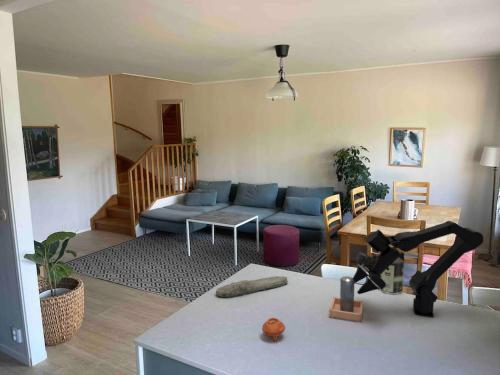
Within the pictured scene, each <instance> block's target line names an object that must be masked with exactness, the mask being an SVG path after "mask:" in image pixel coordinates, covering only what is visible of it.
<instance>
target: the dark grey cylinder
mask: <svg viewBox="0 0 500 375" xmlns="http://www.w3.org/2000/svg"><path fill="white" fill-rule="evenodd" d="M354 281H355V280H354V279H353V277H351V276H347V275H346V276H342V277H340V282H339V283H340V285H339V286H340V287H339V290H340V291H339V292H340V293H339V294H340V295H339V298H340V311H345V312H352V313H354V300H355V283H354Z"/></svg>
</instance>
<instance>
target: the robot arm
mask: <svg viewBox="0 0 500 375" xmlns="http://www.w3.org/2000/svg"><path fill="white" fill-rule="evenodd" d="M452 234H454V235H456V236H455V238H454V241H453V244H452V245H450V247H449V248H448V249H447V250H446V251H445V252H444V253H443V254H442V255H441V256H439V257H438V259H436V260H435V261H434V262H433V263H432V265H430V266H429V267H428V269H426V270H424V271H421V270H419V269H418V270H416V272H415V273H414V274H413V275H411V276H410V280H409V281H408V284H409V287H410V289H411V290H412V291H413V293H414V294H415V295H414V296H415V297H414V298H413V300H412V302H413V303H412V310H413V311H414V315H417V316H423V317H431V318H434V316H435V314H434V306H435V304H434V303H436V302H437V300H438V298H439V297H438V296H437V295H436V294H435V293H434V289H436V288H435V287H436V284H437V281H438V280H439V278H441V276H442V275H444V274H445V273H446V272H447V271H448V270H450V268H451V267H452V266H453V265H454V264H455V263H456V262H457V261H458V260H459V259H460V258H461V257H462V256H463V255H464V254H467V253H468V252H472V251H475V250H476V249H477V248H479V247H481V246H482V244H483V243H484V235H483V234H482V232H480V231H478V230H475V229H472V228H470V227H463V226H462V225H461V226H460V225H459V224H458V223H457V222H455V221H452V220H446V221H445V222H443V223H439V224H436V225H432V226H429V227H427V228H422V229H420V230H417V231H402V232H398V233H395V234H394V235H388V236H385V234H384V233H383V231H381V229H377V230H376V231H373V232H371V233H369V234H368V235H367V236H366V238H365V243H366V244H367V245H369V247H370V248H371V249H372V250H373V251H374V252H376V253H378V254H377V255H376V254H373V255H372V256H371V255H368V254H366V253H363V252H362V251H358V253H357V255H356V257H355V260H356V272H355V273H354V275H353V277H352V278H353V279H354V280H355V281H354V284H356V283H358V282H361V280H364V279H365V282H364V283H362V285H361V286H360V287H359V289H358V290H357V291H356V292H357V294H358V295H363V294H365V293H369V292H372V291H376V290H378V291H380V289H381V290H383V289H384V288H385V287H386V283H385V281H384V280H383V279H382V278H381V277H382V276H381V274H382V273H383V272H384V271H385V270H389V268H388V267H389V266H390V265H391V264H392V263H393V262H394V261H395V260H396V259H398V258H400V259H402V260H403V261H404V262H405V253H407V252H410V251H412V250H414V249H417V248H418V247H419V246H420V245H422V244H423V243H426V242H429V241H432V240H436V239H439V238H442V237H445V236H448V235H452ZM390 245H391V246H390ZM399 250H400V251H399ZM379 288H380V289H379Z"/></svg>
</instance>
